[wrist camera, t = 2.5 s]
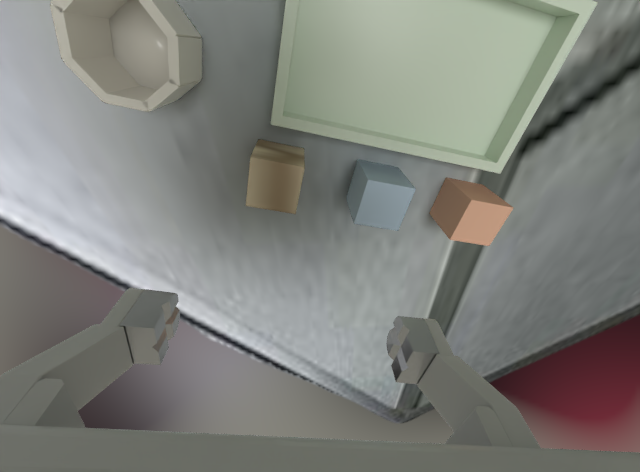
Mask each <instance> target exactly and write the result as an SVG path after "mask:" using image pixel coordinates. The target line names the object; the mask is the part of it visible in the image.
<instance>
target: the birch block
mask: <svg viewBox="0 0 640 472" xmlns="http://www.w3.org/2000/svg"><path fill="white" fill-rule="evenodd" d="M304 169H305V161H304V148H300V147H295V146H290V145H285V144H280V143H275V142H270V141H265V140H260V139H258V141H257V144H256V146H255V148H254V150H253V152H252V154H251V157H250V166H249V177H248V187H247V198H246V206H250V207H256V208H262V209H268V210H274V211H280V212H286V213H292V214H296V209H297V204H298V199H299V194H300V189H301V184H302V179H303V174H304Z"/></svg>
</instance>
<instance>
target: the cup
mask: <svg viewBox="0 0 640 472" xmlns="http://www.w3.org/2000/svg"><path fill="white" fill-rule="evenodd" d="M51 3H52V5H51V4H50V8H51V12H52V17H53V22H54V26H55V31H56V36H57V40H58V45H59V50H60V54H61V59H63V60H64V61H63V62H64V63H65V64H66V65H67V66H68V67H69V68H70V69H71V70H72V71H73V72H74V73H75V74H76V75H77V76H78V77H79V78H80V79H81V80H82V81H83V82H84V83H85V85H86V86H87V87H88V88H89V89H90V90H91V91H92V92H93V93H94V94H95V95H96V96H97V97H98V98H99V99H100V100H101V101H102V102H103V101H104V103H107V104H112V105H117V106H122V107H127V108H131V109H136V110H141V111H146V112H149V111H153V110H155V109H158V108H160V107H162V106H165V105H167V104H170V103H172V102H174V101H177V100H178V99H179V98H181V97H182V96H183V95H184V94H185V93H187V92H188V91H189V90H190V89H192V88H193V87H194V86H195V85H196V84H198V83H199V82H200V81H201V79H202V39H200V38H201V35H200V34H199V33H198V31H197V30H196V29H195V27H194V26H193V24H192V23H191V22H190V20H189V19H188V17H187V16H186V15H185V13H184V12H183V10H182V9H181V8H180V6H179V5H178V3H177V2H176V1H175V0H52V1H51Z"/></svg>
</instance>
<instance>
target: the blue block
mask: <svg viewBox="0 0 640 472" xmlns="http://www.w3.org/2000/svg"><path fill="white" fill-rule="evenodd" d="M415 190H416V189H415V187H414V186H413V185H412V184H411V182H410V181H409V180H408V179H407V178H406V176H405V175H404V174H403V173H402V172H401V170H400V169H399V168H398V167H393V166H388V165H383V164H378V163H373V162H368V161H363V160H357V163H356V167H355V170H354V173H353V177H352V180H351V184H350V187H349V191H348V194H347V197H346V199H347V203H348V206H349V209H350V212H351V216H352V219H353V222H354V224H359V225H365V226H371V227H377V228H383V229H389V230H395V231H398V230H399V228H400V225H401V223H402V220H403V218H404V216H405V213H406V211H407V209H408V206H409V204H410V202H411V199H412V197H413V194H414V192H415Z"/></svg>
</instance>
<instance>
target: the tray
mask: <svg viewBox="0 0 640 472" xmlns="http://www.w3.org/2000/svg"><path fill="white" fill-rule="evenodd" d="M596 5H597V2H595V1H592V0H286V4H285V12H284V20H283V28H282V36H281V44H280V52H279V60H278V68H277V77H276V85H275V93H274V101H273V109H272V117H271V125H275V126H280V127H284V128H289V129H294V130H298V131H303V132H308V133H312V134H317V135H322V136H326V137H331V138H336V139H341V140H345V141H350V142H355V143H359V144H364V145H369V146H373V147H378V148H383V149H387V150H392V151H397V152H401V153H406V154H411V155H415V156H420V157H425V158H429V159H434V160H439V161H444V162H448V163H453V164H458V165H462V166H467V167H472V168H476V169H481V170H486V171H490V172H495V173H501V171H502V169H503V168H504V166H505V164H506V162H507V161H508V159H509V157H510V155H511V154H512V152H513V150H514V148H515V147H516V145H517V143H518V141H519V140H520V138H521V136H522V134H523V133H524V131H525V129H526V128H527V126H528V124H529V122H530V121H531V119H532V117H533V115H534V114H535V112H536V110H537V108H538V107H539V105H540V103H541V101H542V100H543V98H544V96H545V94H546V93H547V91H548V89H549V87H550V86H551V84H552V82H553V80H554V79H555V77H556V75H557V73H558V72H559V70H560V68H561V66H562V65H563V63H564V61H565V59H566V58H567V56H568V54H569V52H570V51H571V49H572V47H573V45H574V44H575V42H576V40H577V38H578V37H579V35H580V33H581V31H582V30H583V28H584V26H585V24H586V23H587V21H588V19H589V17H590V16H591V14H592V12H593V10H594V9H595V7H596Z"/></svg>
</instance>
